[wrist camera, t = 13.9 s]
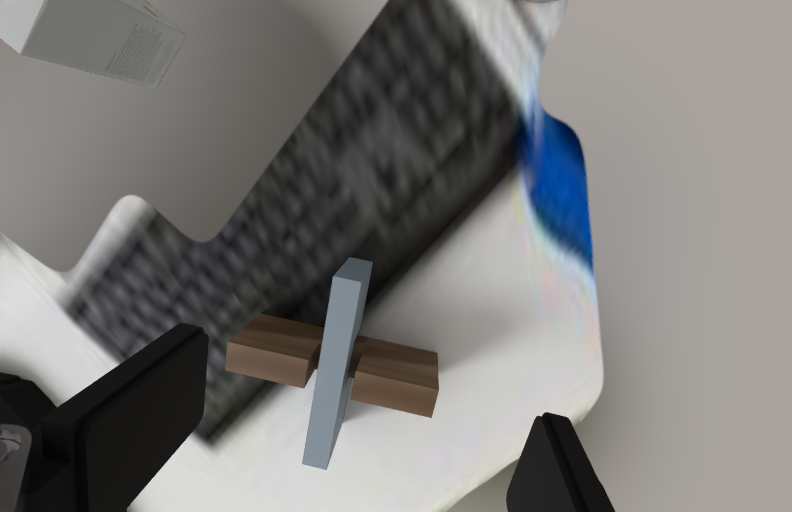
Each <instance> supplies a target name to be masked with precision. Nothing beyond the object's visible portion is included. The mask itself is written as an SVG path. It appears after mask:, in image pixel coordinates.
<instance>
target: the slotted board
mask: <svg viewBox="0 0 792 512" xmlns="http://www.w3.org/2000/svg"><path fill="white" fill-rule="evenodd" d="M324 329H325V328H324V327H319V326H315V325H310V324H306V323H301V322H297V321H293V320H288V319H284V318H279V317H275V316H270V315H266V314H261V313H260V314H259V315H258V316H257V317H255V318H254V319H253V320H252V321H251V322H250V323H249V324H247V325H246V326H245V327H244V328H243V329H242V330H241V331H240V332H238V333H237V334H236V335H235V336H234V337H233V338H232V339H230V340H229V341H228V344H227V355H226V365H225V370H227V371H231V372H235V373H240V374H244V375H248V376H253V377H257V378H261V379H266V380H270V381H274V382H279V383H283V384H287V385H292V386H296V387H300V388H305V386H306V384H307V382H308V380H309V379H310V377H311V375H312V373H313V372H314V370H315V369H317V370H318V365H319V359H320V353H321V347H322V341H323V335H324ZM348 377H352V378H355V379H354V384H353V389H352V394H351V399H352V400H356V401H361V402H365V403H369V404H374V405H378V406H382V407H387V408H391V409H395V410H400V411H404V412H408V413H413V414H417V415H421V416H426V417H430V418H432V414H433V410H434V406H435V403H436V399H437V395H438V391H439V383H438V357H437V353H435V352H430V351H426V350H421V349H417V348H413V347H408V346H404V345H399V344H395V343H390V342H386V341H381V340H377V339H373V338H368V337H364V336H359V335H357V337H356V339H355V342H354V346H353V351H352V356H351V362H350V367H349V372H348Z"/></svg>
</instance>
